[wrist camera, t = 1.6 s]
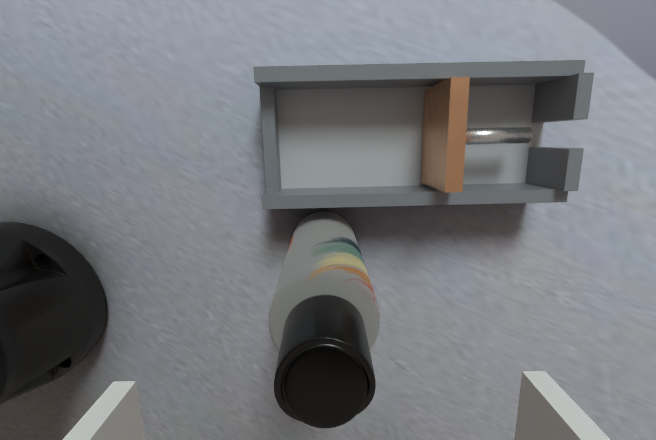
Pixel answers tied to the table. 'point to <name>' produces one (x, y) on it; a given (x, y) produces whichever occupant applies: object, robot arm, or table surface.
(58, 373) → the robot arm
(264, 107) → the tray
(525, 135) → the pusher
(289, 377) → the lotion bottle
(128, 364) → the table surface
